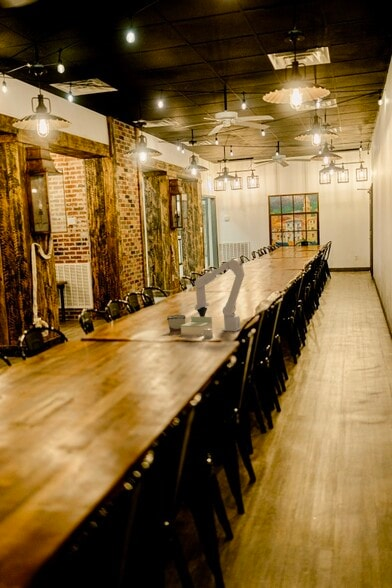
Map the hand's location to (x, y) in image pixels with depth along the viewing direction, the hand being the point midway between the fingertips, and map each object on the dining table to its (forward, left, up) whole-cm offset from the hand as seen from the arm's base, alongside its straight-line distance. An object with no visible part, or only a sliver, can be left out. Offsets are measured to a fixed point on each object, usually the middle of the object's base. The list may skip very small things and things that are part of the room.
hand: (202, 319), depth 347 cm
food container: (+15, +6, -7) cm, 18 cm away
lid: (0, +8, -2) cm, 8 cm away
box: (0, +8, -7) cm, 11 cm away
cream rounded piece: (-14, +19, -7) cm, 25 cm away
